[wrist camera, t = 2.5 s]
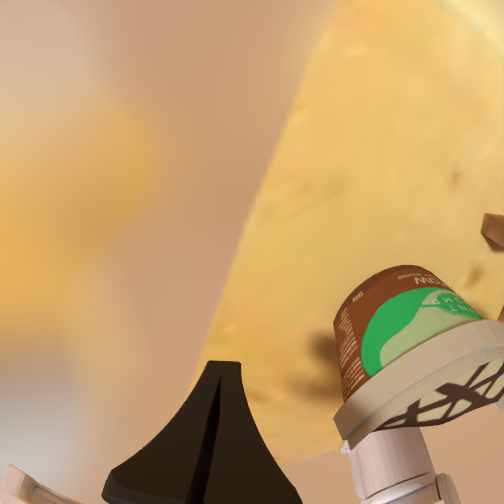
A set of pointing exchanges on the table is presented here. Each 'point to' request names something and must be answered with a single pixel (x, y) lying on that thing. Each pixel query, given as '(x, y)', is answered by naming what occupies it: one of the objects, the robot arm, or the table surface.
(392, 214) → the table surface
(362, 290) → the food container
